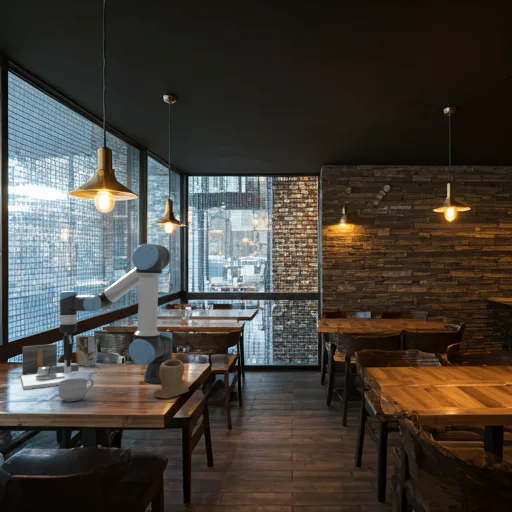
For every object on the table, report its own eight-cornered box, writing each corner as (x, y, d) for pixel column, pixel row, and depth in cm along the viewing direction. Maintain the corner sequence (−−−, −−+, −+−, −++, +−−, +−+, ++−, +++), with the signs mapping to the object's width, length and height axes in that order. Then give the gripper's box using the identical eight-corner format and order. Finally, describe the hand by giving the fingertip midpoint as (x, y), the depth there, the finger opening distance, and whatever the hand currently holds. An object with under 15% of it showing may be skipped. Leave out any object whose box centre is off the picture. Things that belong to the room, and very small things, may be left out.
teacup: (59, 405, 178) (59, 384, 178) (57, 398, 188) (57, 378, 188) (96, 400, 185) (96, 380, 185) (92, 394, 194) (92, 375, 194)
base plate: (67, 384, 210) (67, 380, 211) (23, 389, 202) (23, 385, 202) (60, 373, 232) (60, 370, 232) (21, 378, 223) (21, 374, 223)
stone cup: (167, 402, 181) (168, 364, 182) (149, 397, 189) (149, 361, 189) (196, 394, 193) (196, 358, 193) (177, 389, 200) (177, 355, 201)
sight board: (56, 371, 238) (57, 344, 239) (22, 374, 230) (22, 347, 231) (56, 370, 240) (56, 343, 240) (22, 374, 232) (22, 346, 232)
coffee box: (96, 364, 256) (96, 335, 256) (88, 366, 250) (88, 337, 250) (83, 363, 259) (83, 334, 260) (75, 365, 253) (75, 336, 254)
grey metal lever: (36, 380, 211) (36, 370, 211) (35, 376, 219) (35, 366, 219) (79, 375, 220) (79, 365, 220) (76, 372, 228) (76, 362, 228)
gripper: (57, 322, 220) (56, 371, 220) (62, 325, 209) (61, 376, 209) (73, 321, 224) (73, 369, 224) (79, 324, 213) (79, 374, 213)
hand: (67, 373), depth 216 cm, fingers closed
